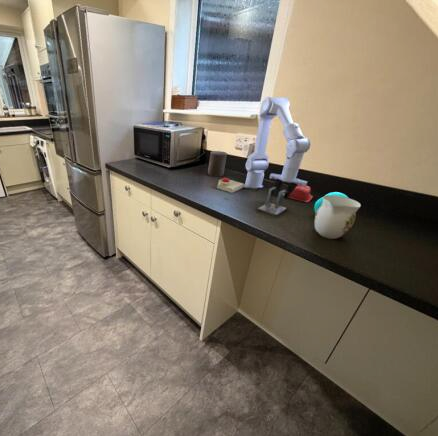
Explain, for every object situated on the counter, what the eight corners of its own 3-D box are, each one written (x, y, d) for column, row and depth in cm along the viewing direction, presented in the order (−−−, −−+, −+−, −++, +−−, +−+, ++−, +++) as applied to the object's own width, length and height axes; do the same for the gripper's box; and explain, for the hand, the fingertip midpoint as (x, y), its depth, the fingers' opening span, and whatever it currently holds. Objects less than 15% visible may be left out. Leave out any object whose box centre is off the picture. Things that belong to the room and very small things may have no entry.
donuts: (309, 215, 98) (317, 193, 93) (318, 209, 104) (327, 188, 99) (337, 225, 91) (347, 202, 86) (345, 218, 97) (356, 195, 92)
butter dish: (312, 197, 115) (319, 181, 111) (307, 204, 108) (313, 187, 104) (287, 191, 122) (292, 176, 118) (280, 198, 115) (285, 181, 111)
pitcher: (353, 231, 87) (371, 197, 80) (336, 248, 77) (354, 211, 71) (320, 220, 95) (334, 188, 88) (301, 234, 85) (314, 199, 78)
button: (224, 180, 126) (224, 177, 126) (229, 181, 124) (230, 178, 123) (220, 181, 124) (220, 178, 124) (226, 183, 122) (226, 180, 121)
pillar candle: (217, 178, 141) (221, 153, 134) (204, 174, 148) (207, 150, 141) (226, 175, 146) (230, 150, 139) (213, 171, 153) (217, 148, 146)
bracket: (267, 204, 108) (273, 184, 103) (285, 210, 102) (292, 189, 98) (257, 210, 102) (262, 189, 97) (275, 217, 97) (282, 195, 92)
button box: (227, 182, 133) (229, 176, 131) (243, 187, 127) (245, 180, 125) (215, 187, 126) (216, 180, 124) (231, 193, 120) (232, 185, 118)
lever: (279, 196, 107) (281, 189, 106) (286, 198, 105) (289, 191, 104) (270, 196, 99) (272, 188, 98) (277, 198, 97) (280, 190, 96)
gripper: (269, 165, 101) (262, 194, 108) (306, 173, 92) (295, 204, 98) (276, 163, 105) (269, 191, 112) (312, 170, 96) (302, 200, 102)
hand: (282, 197), depth 105 cm, fingers closed on lever, 3 cm apart
